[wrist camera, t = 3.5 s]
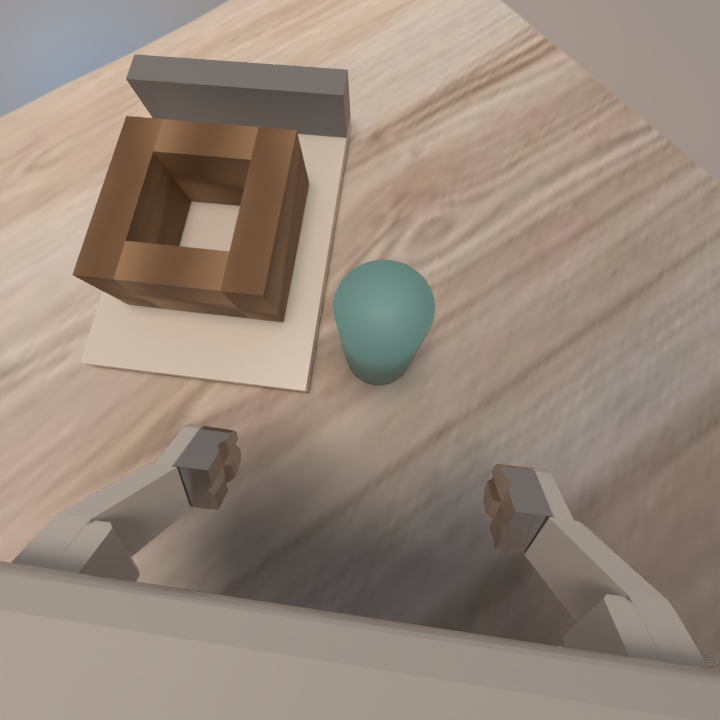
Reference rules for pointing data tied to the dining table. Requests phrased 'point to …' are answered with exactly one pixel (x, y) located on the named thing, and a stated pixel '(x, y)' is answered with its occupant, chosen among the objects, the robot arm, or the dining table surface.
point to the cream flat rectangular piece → (217, 224)
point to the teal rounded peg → (382, 318)
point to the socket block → (169, 211)
